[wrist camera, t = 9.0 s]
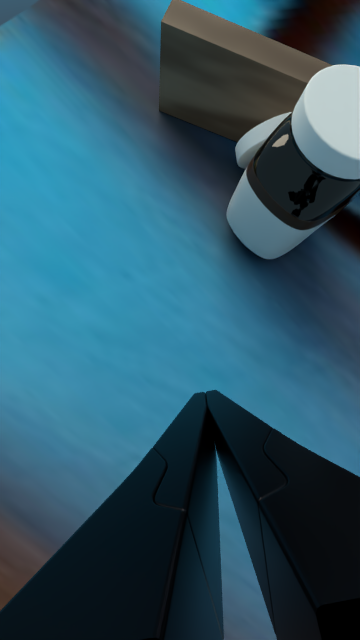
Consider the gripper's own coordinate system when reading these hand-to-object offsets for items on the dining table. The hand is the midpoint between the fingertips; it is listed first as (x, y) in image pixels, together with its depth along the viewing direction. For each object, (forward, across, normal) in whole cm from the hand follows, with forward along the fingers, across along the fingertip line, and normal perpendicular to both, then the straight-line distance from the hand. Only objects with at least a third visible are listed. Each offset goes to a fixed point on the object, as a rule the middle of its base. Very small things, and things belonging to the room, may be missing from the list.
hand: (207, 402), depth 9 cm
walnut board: (+25, +13, +13) cm, 31 cm away
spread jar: (+21, +9, +7) cm, 24 cm away
